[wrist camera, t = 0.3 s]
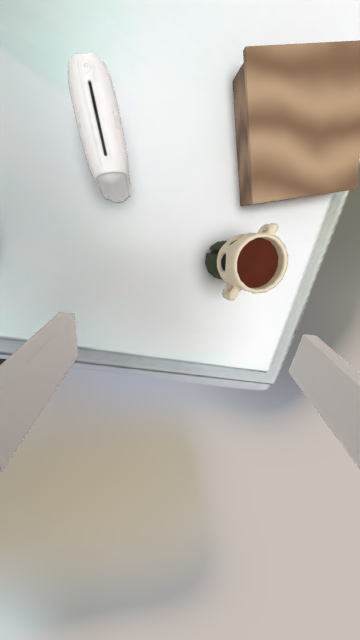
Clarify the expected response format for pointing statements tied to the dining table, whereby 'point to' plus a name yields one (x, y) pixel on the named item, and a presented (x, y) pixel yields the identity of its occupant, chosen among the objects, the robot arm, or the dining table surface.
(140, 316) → the dining table surface
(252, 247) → the character mug
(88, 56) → the photo printer
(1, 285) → the dining table surface
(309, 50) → the walnut stand
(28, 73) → the dining table surface
